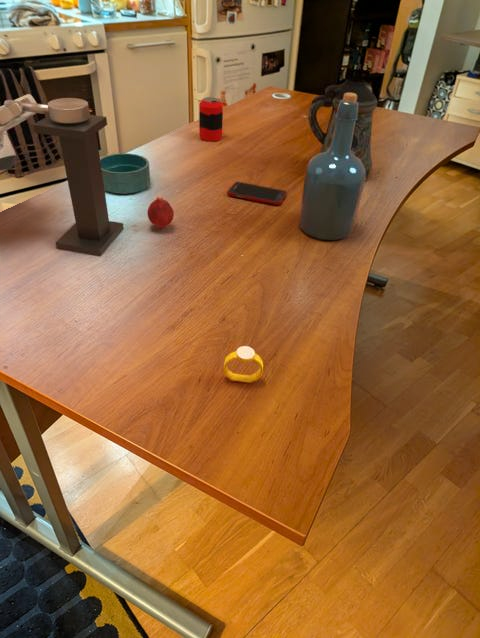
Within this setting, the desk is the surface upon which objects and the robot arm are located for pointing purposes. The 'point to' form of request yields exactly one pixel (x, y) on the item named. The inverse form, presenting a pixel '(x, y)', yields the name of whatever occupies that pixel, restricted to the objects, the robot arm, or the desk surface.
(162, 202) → the onion
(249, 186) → the cell phone
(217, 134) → the soda can
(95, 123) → the brown pedestal stand
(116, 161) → the bowl
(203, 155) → the desk surface
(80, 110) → the grey scoop
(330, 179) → the wine bottle
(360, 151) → the beer stein
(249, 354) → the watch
